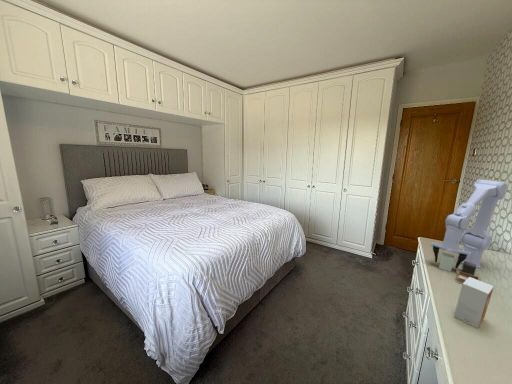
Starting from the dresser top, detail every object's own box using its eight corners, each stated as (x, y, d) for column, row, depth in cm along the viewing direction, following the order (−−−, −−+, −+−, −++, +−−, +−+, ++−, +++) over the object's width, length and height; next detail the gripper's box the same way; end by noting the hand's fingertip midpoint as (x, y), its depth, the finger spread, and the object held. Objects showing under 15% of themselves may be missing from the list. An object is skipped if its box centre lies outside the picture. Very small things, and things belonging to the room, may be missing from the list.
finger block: (439, 264, 111) (442, 251, 109) (451, 267, 108) (454, 254, 106) (438, 268, 107) (441, 255, 105) (450, 271, 104) (454, 258, 102)
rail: (456, 268, 107) (458, 258, 106) (478, 275, 102) (481, 264, 100) (455, 281, 96) (458, 270, 94) (480, 290, 90) (484, 278, 89)
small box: (478, 329, 70) (488, 294, 67) (453, 316, 75) (461, 283, 72) (484, 319, 74) (494, 285, 71) (460, 307, 79) (468, 276, 77)
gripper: (432, 236, 106) (426, 261, 108) (473, 246, 96) (466, 273, 99) (433, 232, 111) (428, 256, 113) (472, 242, 101) (466, 268, 104)
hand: (445, 264), depth 106 cm, fingers open, 7 cm apart
